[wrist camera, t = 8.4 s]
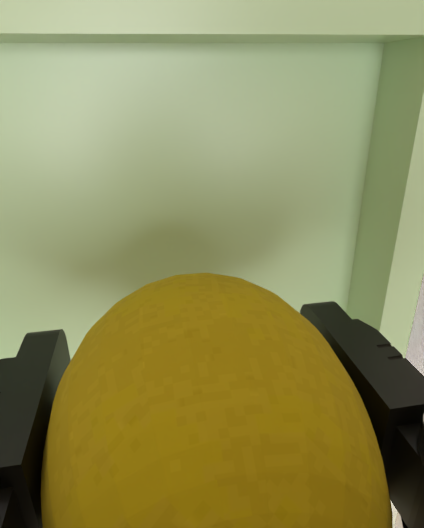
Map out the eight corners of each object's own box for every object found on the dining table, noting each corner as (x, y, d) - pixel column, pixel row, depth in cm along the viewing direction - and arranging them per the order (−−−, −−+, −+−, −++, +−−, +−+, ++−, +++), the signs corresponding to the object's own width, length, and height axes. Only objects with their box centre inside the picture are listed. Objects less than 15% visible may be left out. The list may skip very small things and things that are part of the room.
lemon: (130, 184, 9) (107, 535, 2) (319, 272, 11) (651, 622, 4) (47, 367, 11) (-128, 918, 4) (223, 418, 13) (333, 854, 6)
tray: (411, 0, 12) (489, -22, 10) (347, 402, 19) (383, 455, 16) (-180, -10, 10) (-296, -45, 7) (-19, 457, 16) (-48, 530, 14)
